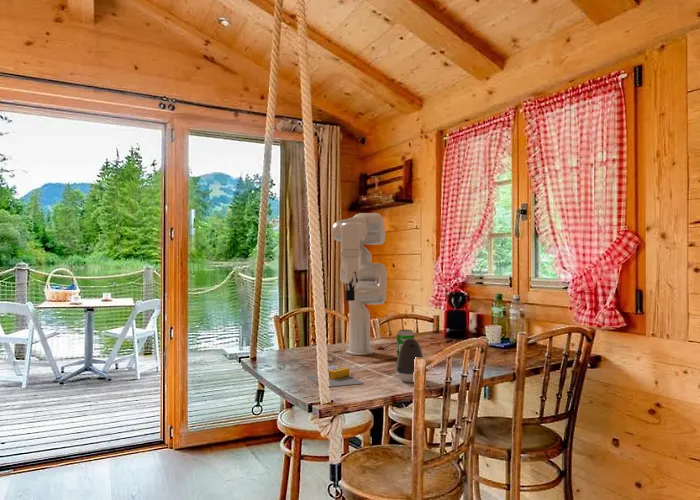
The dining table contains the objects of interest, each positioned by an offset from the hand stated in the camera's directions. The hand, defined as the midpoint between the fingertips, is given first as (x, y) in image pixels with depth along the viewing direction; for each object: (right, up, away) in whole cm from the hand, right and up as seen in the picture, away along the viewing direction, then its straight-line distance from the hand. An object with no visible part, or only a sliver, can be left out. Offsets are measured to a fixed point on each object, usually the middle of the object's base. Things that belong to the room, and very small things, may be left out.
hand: (350, 300), depth 195 cm
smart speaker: (+22, -27, -20) cm, 40 cm away
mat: (-5, -26, -20) cm, 33 cm away
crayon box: (-10, -25, -11) cm, 29 cm away
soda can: (+24, -27, +19) cm, 41 cm away
